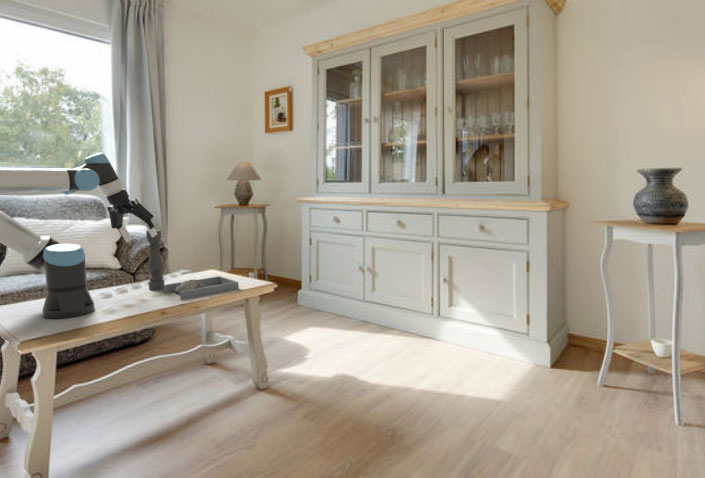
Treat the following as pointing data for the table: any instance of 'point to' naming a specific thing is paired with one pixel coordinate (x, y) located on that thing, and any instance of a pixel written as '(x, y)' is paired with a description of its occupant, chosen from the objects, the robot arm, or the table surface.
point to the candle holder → (155, 262)
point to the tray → (225, 286)
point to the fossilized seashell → (189, 286)
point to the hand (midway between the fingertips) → (142, 238)
